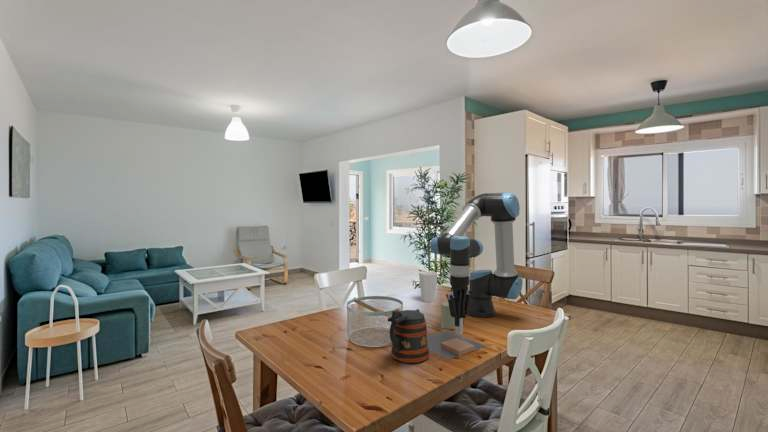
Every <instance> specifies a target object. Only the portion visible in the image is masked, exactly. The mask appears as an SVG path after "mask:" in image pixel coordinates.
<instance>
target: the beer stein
mask: <svg viewBox="0 0 768 432" xmlns="http://www.w3.org/2000/svg"><path fill="white" fill-rule="evenodd" d="M391 312H392V313H391V317H388V318H387V322H390V325H389V326H390V327H389V337H390V341H391V350H390V351H391V352H390V356H391V357H392V359H394V360H396V361H398V362H401V363H404V364H405V363H406V364H418V363H422V362H425V361H426V360H428V359H429V355H430V353H429V352H430V351H429V348H428V343H427V336H428V334H427V333H428V328H427V320H426V318H425V314H424V313H423V312H421V311H420V309H419V308H417V309H416V310H414V309H413V310H412V309H406V310H405V309H404V310H400V311H399V310H392V311H391Z"/></svg>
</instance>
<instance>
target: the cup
mask: <svg viewBox="0 0 768 432" xmlns="http://www.w3.org/2000/svg"><path fill="white" fill-rule="evenodd" d="M418 276H419V277H418V278H419V286H420V294H421V297H420V298H421V301H422V302H424V303H433V302H435V295H436V288H437V280H438V279H437V278H438V272H435V271H430V270H425V271H423V270H422V271H420V272H419V271H418Z"/></svg>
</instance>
